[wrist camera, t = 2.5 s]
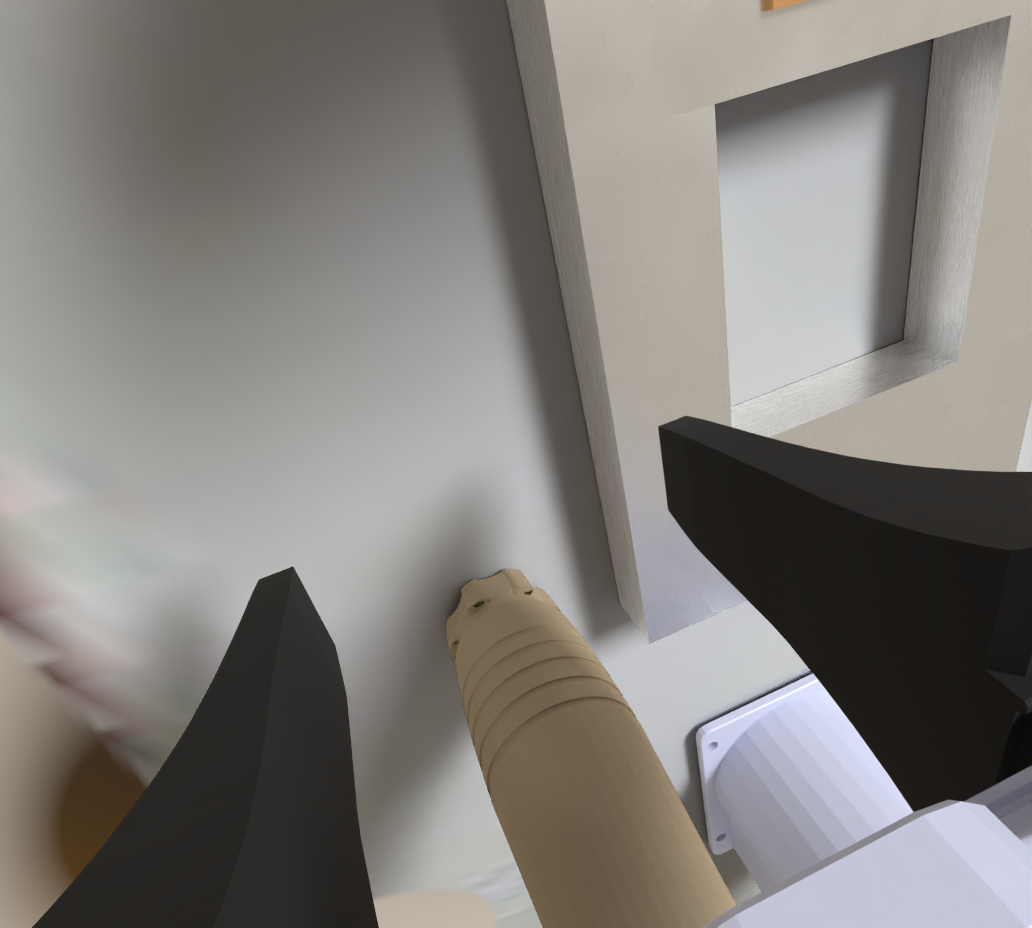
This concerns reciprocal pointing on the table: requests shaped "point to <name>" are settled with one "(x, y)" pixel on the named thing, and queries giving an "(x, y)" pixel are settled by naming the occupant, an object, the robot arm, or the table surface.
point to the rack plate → (699, 260)
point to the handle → (574, 770)
